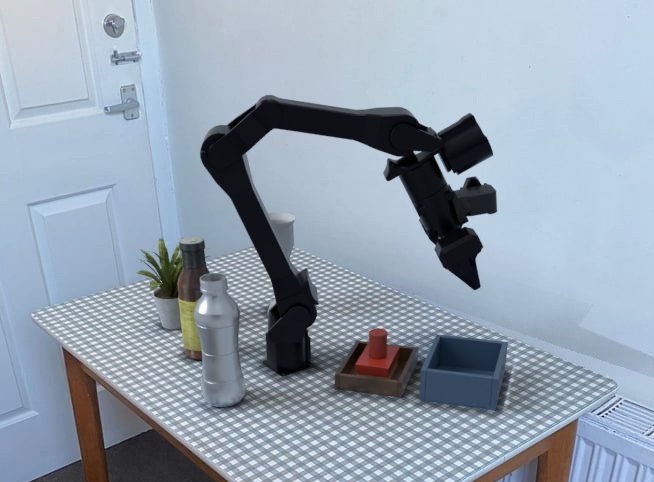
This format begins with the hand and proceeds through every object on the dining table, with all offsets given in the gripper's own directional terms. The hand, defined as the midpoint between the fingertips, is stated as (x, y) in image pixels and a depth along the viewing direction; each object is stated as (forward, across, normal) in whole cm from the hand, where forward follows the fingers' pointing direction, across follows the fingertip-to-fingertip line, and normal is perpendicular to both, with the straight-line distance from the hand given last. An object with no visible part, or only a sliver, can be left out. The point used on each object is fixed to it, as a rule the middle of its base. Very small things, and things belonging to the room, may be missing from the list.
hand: (471, 277), depth 123 cm
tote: (+11, -10, +9) cm, 17 cm away
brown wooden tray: (+6, -5, +20) cm, 21 cm away
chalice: (-1, +23, +33) cm, 40 cm away
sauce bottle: (-8, +6, +45) cm, 46 cm away
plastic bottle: (-5, -11, +41) cm, 43 cm away
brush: (+5, -5, +20) cm, 21 cm away
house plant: (-10, +18, +50) cm, 55 cm away
